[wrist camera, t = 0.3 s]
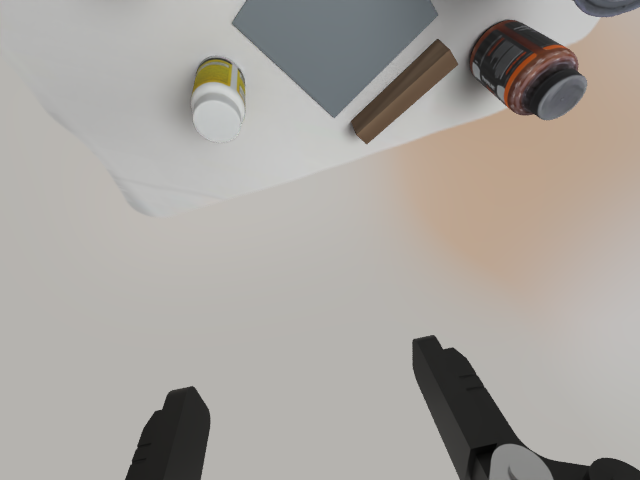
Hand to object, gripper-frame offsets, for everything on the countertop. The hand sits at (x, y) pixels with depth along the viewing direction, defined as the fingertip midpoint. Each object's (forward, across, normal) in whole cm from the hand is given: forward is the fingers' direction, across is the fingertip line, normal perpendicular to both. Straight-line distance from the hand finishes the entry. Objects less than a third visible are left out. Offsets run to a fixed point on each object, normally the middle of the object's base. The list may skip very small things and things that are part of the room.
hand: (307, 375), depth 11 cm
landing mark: (+28, -8, -12) cm, 32 cm away
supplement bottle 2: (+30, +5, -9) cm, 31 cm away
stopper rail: (+31, -14, -5) cm, 34 cm away
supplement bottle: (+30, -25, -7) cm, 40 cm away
